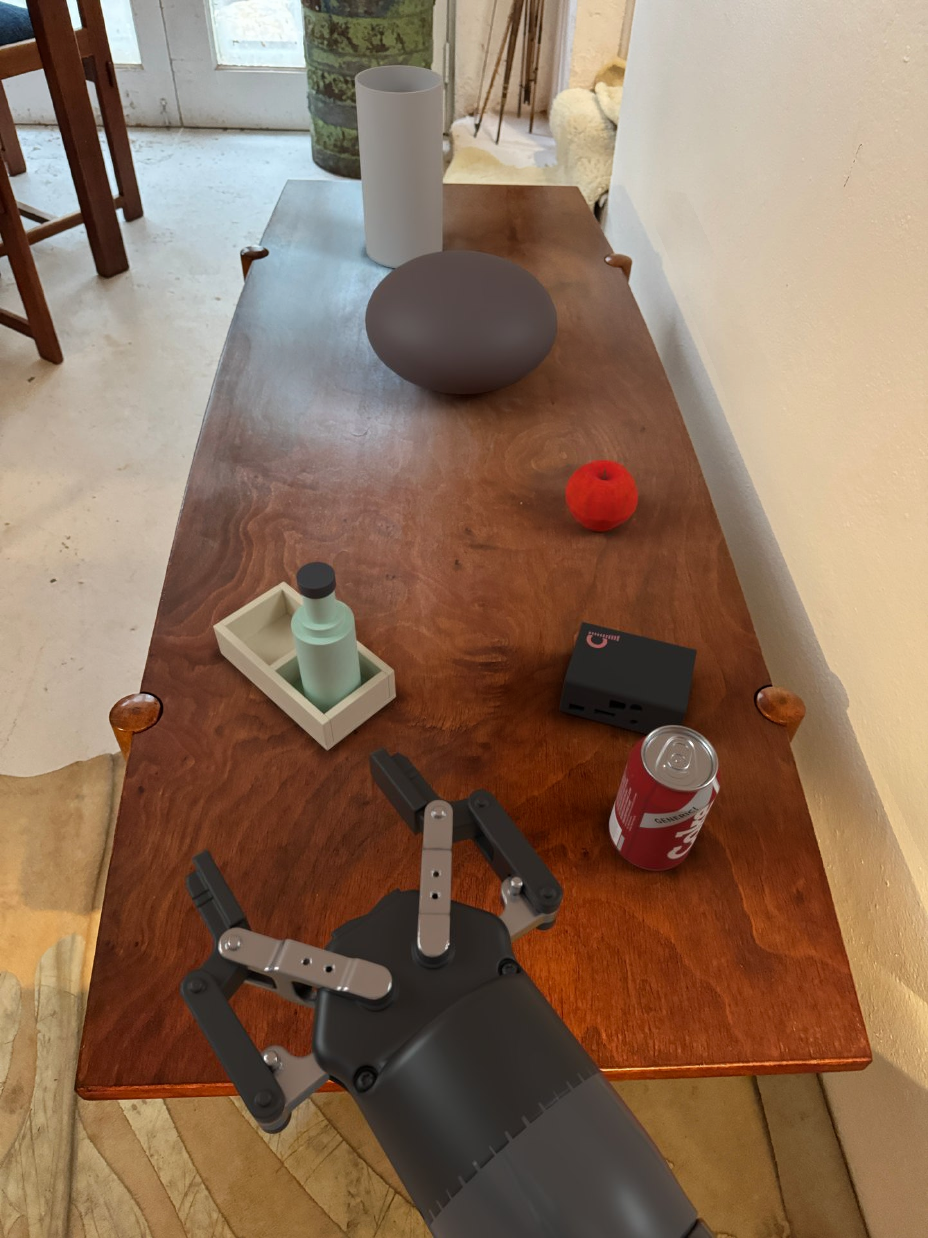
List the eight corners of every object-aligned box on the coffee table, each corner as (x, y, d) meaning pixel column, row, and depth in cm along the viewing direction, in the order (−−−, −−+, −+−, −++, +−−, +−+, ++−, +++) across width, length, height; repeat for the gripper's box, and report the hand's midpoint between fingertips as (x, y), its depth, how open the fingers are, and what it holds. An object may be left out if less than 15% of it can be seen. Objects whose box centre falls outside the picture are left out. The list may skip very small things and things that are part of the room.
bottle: (330, 726, 75) (310, 609, 64) (293, 693, 77) (268, 574, 66) (373, 693, 78) (362, 575, 66) (336, 661, 80) (320, 542, 69)
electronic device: (674, 744, 75) (686, 712, 72) (558, 713, 77) (564, 680, 74) (685, 682, 80) (697, 648, 77) (576, 654, 82) (582, 619, 78)
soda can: (599, 859, 68) (623, 781, 59) (616, 789, 72) (642, 707, 63) (682, 886, 67) (720, 810, 58) (695, 813, 71) (732, 732, 62)
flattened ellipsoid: (411, 312, 126) (408, 209, 115) (572, 346, 120) (586, 241, 109) (337, 399, 110) (326, 290, 99) (519, 443, 105) (529, 332, 94)
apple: (574, 490, 99) (582, 438, 93) (639, 509, 97) (652, 456, 91) (552, 532, 94) (559, 480, 88) (621, 553, 92) (632, 500, 86)
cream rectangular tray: (327, 751, 74) (322, 725, 71) (220, 653, 81) (212, 625, 78) (396, 696, 78) (394, 670, 75) (289, 608, 85) (283, 580, 82)
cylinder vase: (396, 278, 133) (390, 99, 114) (351, 249, 139) (337, 75, 120) (458, 256, 138) (460, 81, 119) (411, 229, 144) (407, 60, 126)
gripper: (696, 992, 29) (425, 681, 37) (331, 1313, 23) (109, 858, 31) (654, 1054, 34) (426, 772, 43) (352, 1325, 28) (159, 936, 37)
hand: (292, 808), depth 37 cm, fingers open, 8 cm apart
